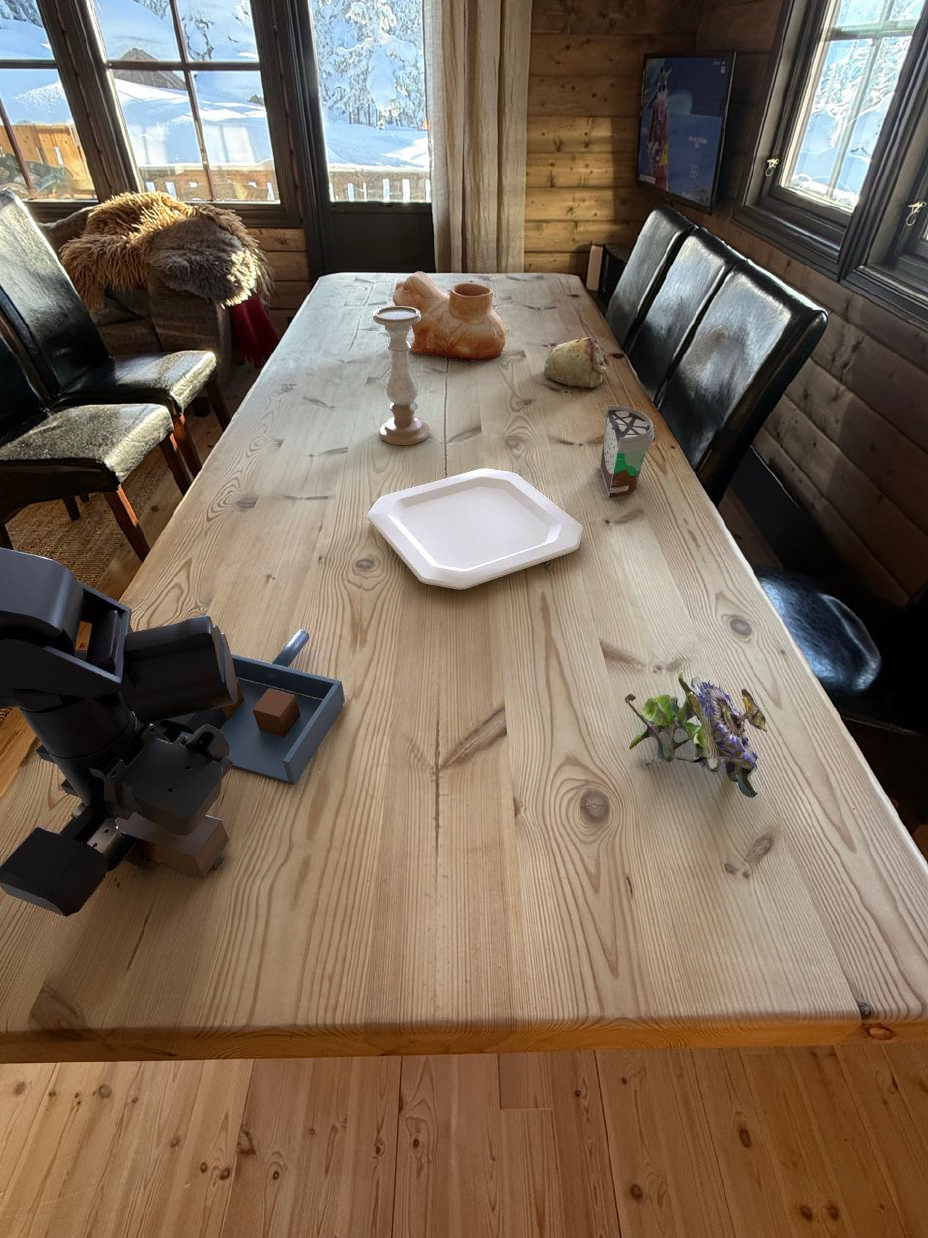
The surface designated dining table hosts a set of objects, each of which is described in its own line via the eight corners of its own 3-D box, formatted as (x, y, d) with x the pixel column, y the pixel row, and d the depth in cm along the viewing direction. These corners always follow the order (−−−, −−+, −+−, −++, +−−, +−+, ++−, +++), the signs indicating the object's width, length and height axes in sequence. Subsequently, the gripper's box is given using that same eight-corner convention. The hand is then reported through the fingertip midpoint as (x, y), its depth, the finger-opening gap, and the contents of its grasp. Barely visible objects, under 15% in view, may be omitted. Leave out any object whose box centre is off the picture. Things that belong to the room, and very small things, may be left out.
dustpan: (294, 785, 61) (288, 763, 58) (148, 741, 64) (137, 719, 62) (372, 659, 73) (370, 637, 71) (246, 629, 77) (240, 607, 75)
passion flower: (713, 797, 66) (798, 797, 54) (612, 799, 63) (680, 800, 52) (700, 685, 69) (779, 663, 57) (604, 683, 66) (666, 659, 55)
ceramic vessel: (412, 332, 158) (408, 263, 148) (514, 346, 150) (518, 274, 140) (384, 350, 148) (378, 278, 138) (492, 367, 140) (494, 291, 131)
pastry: (615, 386, 132) (621, 345, 127) (556, 392, 130) (560, 350, 125) (589, 362, 142) (594, 323, 137) (534, 367, 140) (537, 328, 135)
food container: (651, 502, 98) (664, 439, 92) (610, 502, 98) (620, 439, 92) (636, 463, 108) (647, 403, 101) (598, 463, 108) (607, 403, 101)
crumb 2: (252, 709, 63) (269, 687, 65) (258, 729, 65) (274, 707, 67) (279, 717, 62) (295, 695, 65) (285, 737, 64) (300, 715, 67)
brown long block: (87, 842, 56) (69, 815, 54) (116, 808, 59) (101, 780, 56) (206, 884, 53) (194, 857, 51) (232, 847, 56) (221, 819, 54)
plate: (599, 552, 88) (601, 538, 87) (435, 610, 79) (434, 595, 78) (502, 474, 105) (502, 461, 103) (357, 514, 96) (355, 501, 94)
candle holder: (389, 449, 111) (379, 324, 98) (373, 429, 118) (361, 308, 104) (437, 440, 114) (433, 316, 101) (419, 420, 120) (413, 301, 107)
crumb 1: (194, 693, 65) (212, 672, 67) (202, 713, 67) (220, 693, 69) (220, 700, 64) (238, 679, 66) (228, 720, 66) (244, 699, 68)
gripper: (83, 881, 37) (169, 986, 48) (260, 659, 51) (297, 779, 61) (-64, 827, 40) (47, 938, 50) (140, 630, 53) (194, 750, 64)
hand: (159, 843), depth 56 cm, fingers open, 4 cm apart
